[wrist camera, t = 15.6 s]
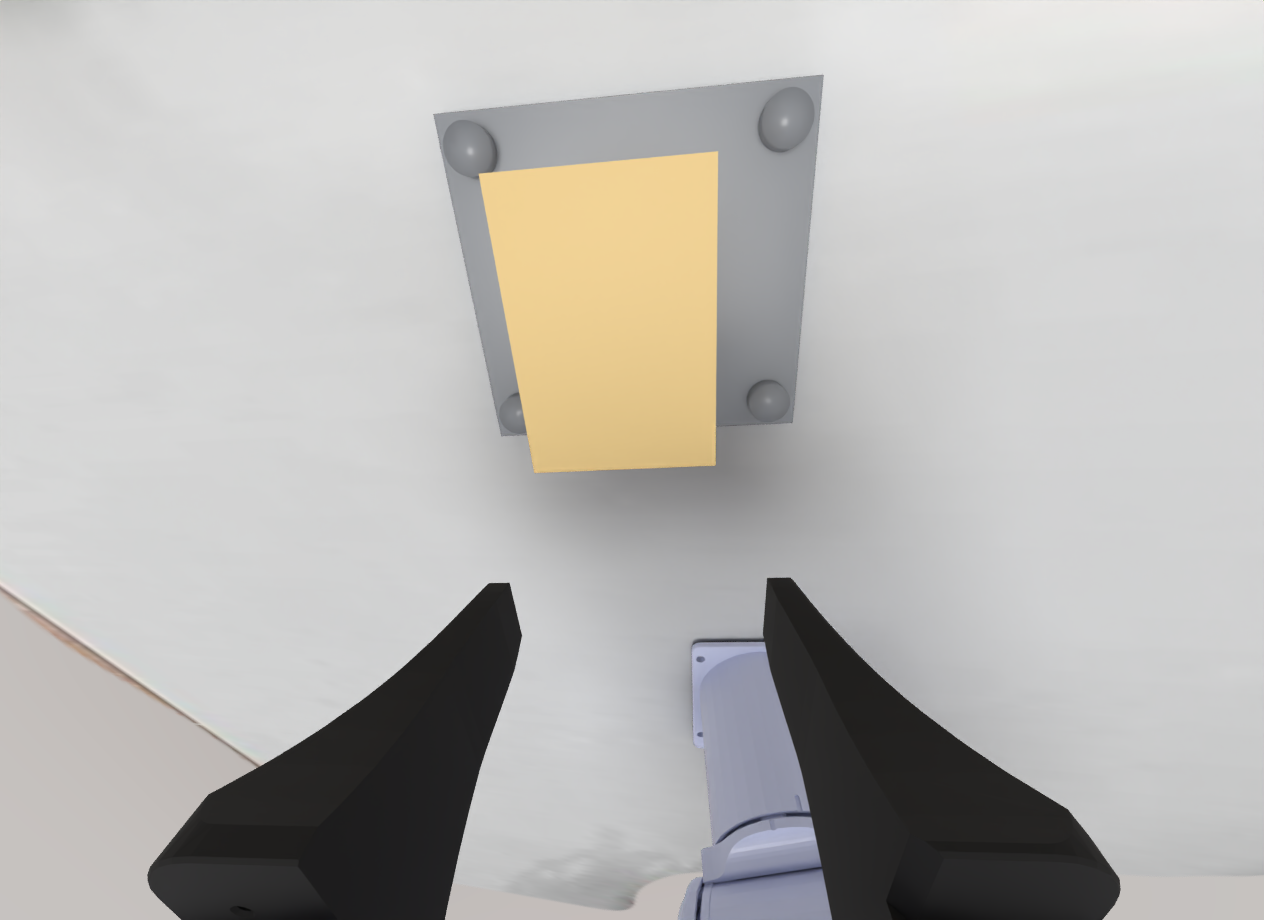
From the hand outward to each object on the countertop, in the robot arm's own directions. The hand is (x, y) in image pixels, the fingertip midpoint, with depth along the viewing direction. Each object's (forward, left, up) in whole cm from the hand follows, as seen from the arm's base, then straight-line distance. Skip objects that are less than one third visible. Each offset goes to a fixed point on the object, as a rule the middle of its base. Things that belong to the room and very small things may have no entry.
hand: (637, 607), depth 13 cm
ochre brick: (+8, 0, -4) cm, 9 cm away
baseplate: (+8, 0, -10) cm, 13 cm away
